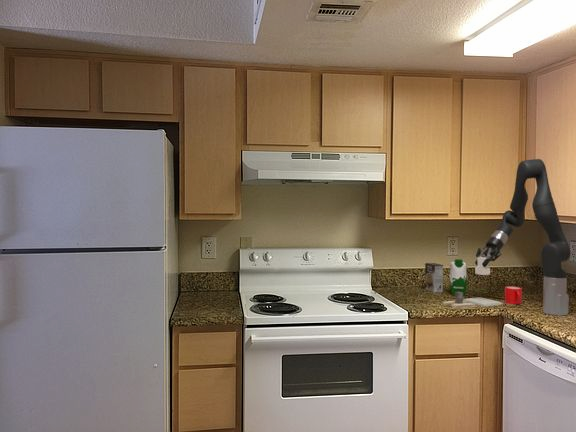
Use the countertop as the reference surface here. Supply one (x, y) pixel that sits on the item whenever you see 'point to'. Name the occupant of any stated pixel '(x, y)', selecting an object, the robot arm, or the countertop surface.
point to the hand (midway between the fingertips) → (479, 265)
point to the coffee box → (434, 277)
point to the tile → (482, 301)
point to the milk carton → (458, 276)
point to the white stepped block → (480, 268)
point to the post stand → (459, 302)
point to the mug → (513, 295)
